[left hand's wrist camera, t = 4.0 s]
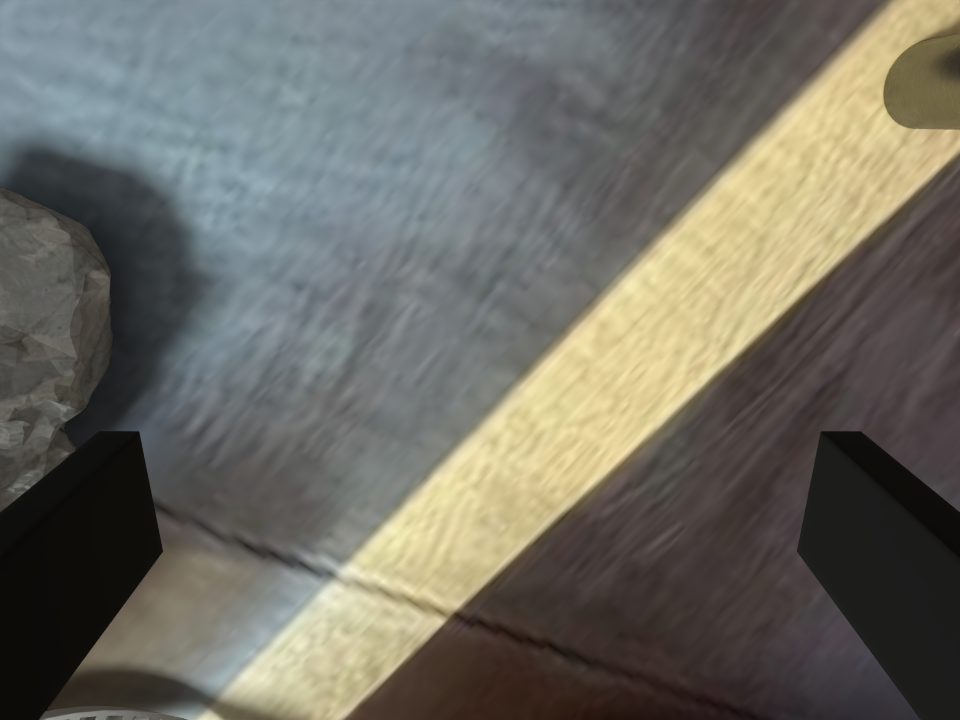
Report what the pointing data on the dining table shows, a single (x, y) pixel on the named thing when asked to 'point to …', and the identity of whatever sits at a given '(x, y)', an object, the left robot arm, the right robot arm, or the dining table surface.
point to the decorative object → (103, 713)
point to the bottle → (926, 85)
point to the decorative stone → (46, 336)
